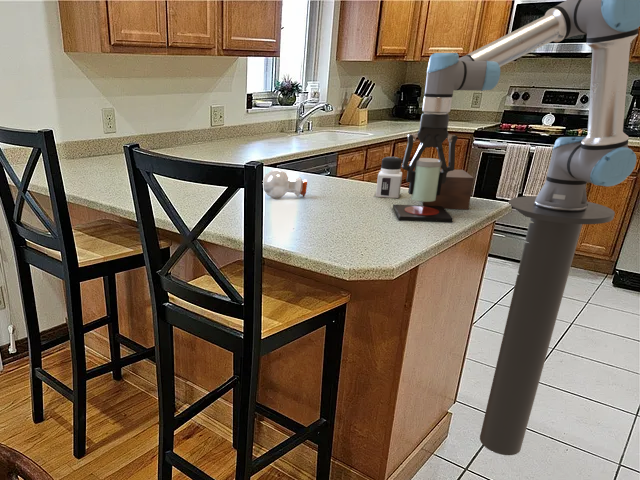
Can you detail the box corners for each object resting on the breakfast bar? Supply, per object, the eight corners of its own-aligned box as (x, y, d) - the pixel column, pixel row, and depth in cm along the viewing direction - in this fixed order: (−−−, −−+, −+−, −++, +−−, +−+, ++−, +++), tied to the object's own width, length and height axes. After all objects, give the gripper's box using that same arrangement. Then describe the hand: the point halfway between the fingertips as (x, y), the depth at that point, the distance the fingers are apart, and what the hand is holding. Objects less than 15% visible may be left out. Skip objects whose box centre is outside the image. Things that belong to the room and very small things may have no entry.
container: (398, 198, 180) (403, 159, 174) (375, 196, 182) (379, 158, 177) (399, 193, 186) (404, 156, 181) (377, 192, 189) (381, 155, 183)
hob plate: (441, 209, 166) (442, 205, 165) (452, 222, 152) (452, 217, 151) (392, 208, 167) (393, 203, 167) (398, 220, 154) (399, 215, 153)
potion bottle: (259, 200, 183) (301, 205, 184) (262, 189, 173) (307, 194, 174) (261, 175, 185) (303, 180, 186) (265, 163, 175) (309, 168, 176)
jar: (433, 196, 161) (439, 158, 156) (438, 202, 154) (445, 162, 149) (408, 195, 162) (413, 157, 157) (412, 201, 155) (417, 161, 150)
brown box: (458, 199, 178) (463, 169, 174) (468, 209, 166) (474, 177, 162) (415, 198, 180) (419, 168, 176) (422, 208, 168) (427, 176, 164)
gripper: (469, 112, 150) (455, 192, 159) (397, 111, 152) (388, 190, 162) (476, 114, 143) (461, 197, 152) (400, 113, 146) (390, 195, 155)
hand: (423, 193), depth 157 cm, fingers closed on jar, 7 cm apart
